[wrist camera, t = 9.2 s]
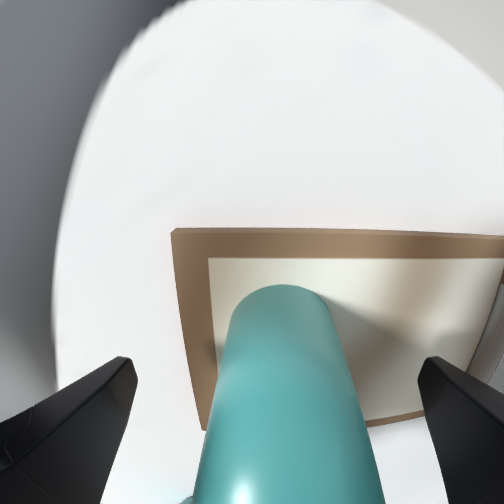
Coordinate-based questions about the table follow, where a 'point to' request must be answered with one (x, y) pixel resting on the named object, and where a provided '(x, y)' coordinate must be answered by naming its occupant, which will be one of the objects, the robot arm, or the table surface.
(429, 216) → the table surface
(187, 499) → the flower pot
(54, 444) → the robot arm
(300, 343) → the teal capped bottle
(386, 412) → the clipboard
